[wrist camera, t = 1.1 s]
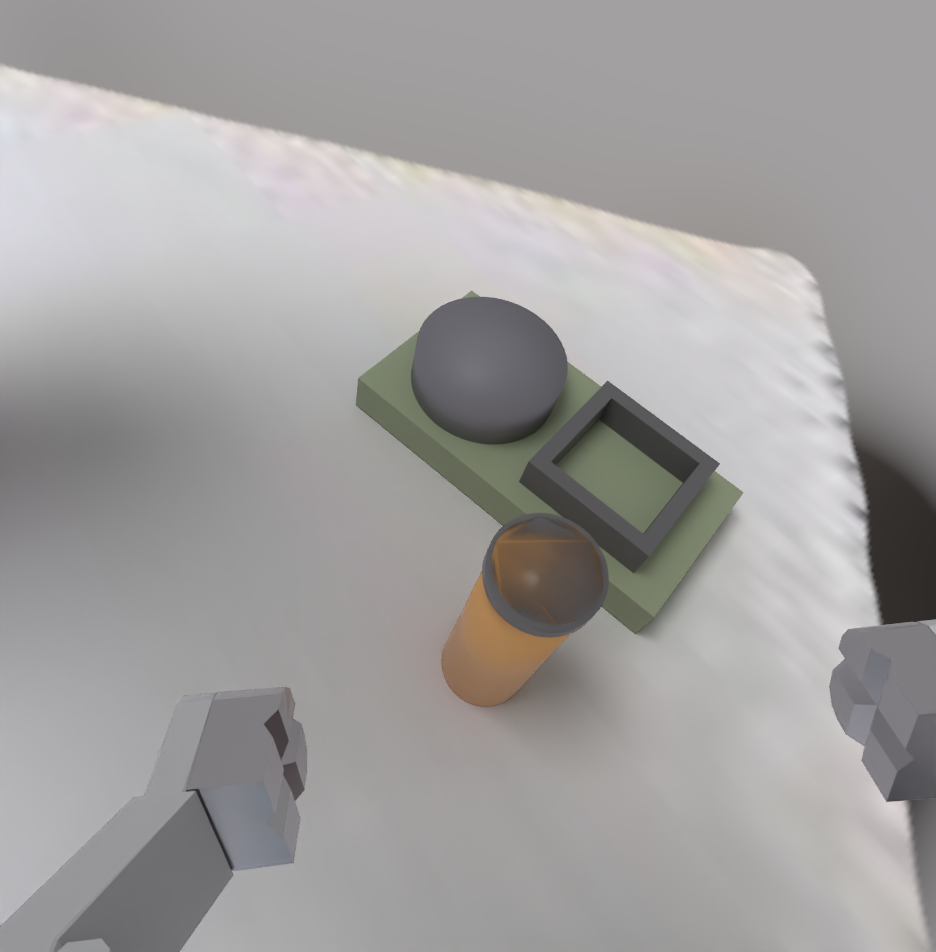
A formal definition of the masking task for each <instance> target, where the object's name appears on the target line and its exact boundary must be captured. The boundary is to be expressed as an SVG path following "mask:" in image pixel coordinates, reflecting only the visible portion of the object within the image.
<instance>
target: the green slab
mask: <svg viewBox="0 0 936 952" xmlns="http://www.w3.org/2000/svg"><path fill="white" fill-rule="evenodd" d="M356 405H357V406H358V407H359V408H360V409H362V410H363V411H364V412H365V413H366V414H368V415H369V416H370V417H371V418H373V419H374V420H375V421H376V422H377V423H379V424H380V425H381V426H382V427H383V428H385V429H386V430H387V431H388V432H390V433H391V434H392V435H393V436H394V437H396V438H397V439H398V440H399V441H401V442H402V443H403V444H404V445H405V446H407V447H408V448H409V449H410V450H412V451H413V452H414V453H415V454H416V455H418V456H419V457H420V458H421V459H423V460H424V461H425V462H426V463H427V464H429V465H430V466H431V467H432V468H434V469H435V470H436V471H437V472H438V473H440V474H441V475H442V476H443V477H445V478H446V479H447V480H448V481H449V482H451V483H452V484H453V485H454V486H456V487H457V488H458V489H459V490H460V491H462V492H463V493H464V494H465V495H467V496H468V497H469V498H470V499H471V500H473V501H474V502H475V503H476V504H477V505H479V506H480V507H481V508H482V509H484V510H485V511H486V512H487V513H488V514H490V515H491V516H492V517H493V518H495V519H496V520H497V521H498V522H499V523H501V524H502V525H503V526H504V525H505V524H506V523H508V522H509V521H511V520H513V519H515V518H517V517H519V516H522V515H526V514H531V513H548V514H554V515H558V516H561V517H564V518H566V519H568V520H571V521H572V522H574V523H576V524H577V525H579V526H580V527H582V528H583V529H584V530H585V531H586V532H588V533H589V534H590V536H591V537H592V538H593V539H594V540H595V541H596V543H597V544H598V546H599V547H600V549H601V551H602V553H603V555H604V557H605V560H606V563H607V567H608V573H609V585H608V591H607V595H606V598H605V600H604V602H603V604H602V607H603V608H604V609H606V610H607V611H608V612H609V613H611V614H612V615H613V616H614V617H615V618H617V619H618V620H619V621H620V622H622V623H623V624H624V625H625V626H626V627H628V628H629V629H630V630H631V631H633V632H634V633H635V634H636V633H637V632H638V631H639V630H640V629H642V628H643V627H644V626H645V625H646V624H647V623H649V622H650V621H651V620H652V619H653V618H654V617H655V616H656V614H657V613H658V612H659V610H660V609H661V607H662V606H663V605H664V603H665V602H666V600H667V599H668V598H669V596H670V595H671V593H672V592H673V591H674V589H675V588H676V586H677V585H678V584H679V582H680V581H681V579H682V578H683V577H684V575H685V574H686V572H687V571H688V570H689V568H690V567H691V565H692V564H693V563H694V561H695V560H696V558H697V557H698V556H699V554H700V553H701V551H702V550H703V549H704V547H705V546H706V544H707V543H708V542H709V540H710V539H711V537H712V536H713V535H714V533H715V532H716V530H717V529H718V528H719V526H720V525H721V523H722V522H723V520H724V519H725V518H726V516H727V515H728V513H729V512H730V511H731V509H732V508H733V506H734V505H735V504H736V502H737V501H738V499H739V498H740V497H741V495H742V494H743V492H742V491H741V490H739V489H738V488H737V487H735V486H734V485H733V484H731V483H730V482H729V481H727V480H726V479H725V478H723V477H722V476H721V475H719V474H718V473H717V472H715V470H716V468H717V467H718V466H719V464H720V463H718V462H717V461H716V460H714V459H713V458H711V457H710V456H709V455H707V454H706V453H705V452H703V451H702V450H701V449H699V448H698V447H697V446H695V445H694V444H692V443H691V442H690V441H688V440H687V439H686V438H684V437H683V436H682V435H680V434H679V433H678V432H676V431H675V430H674V429H672V428H671V427H669V426H668V425H667V424H665V423H664V422H663V421H661V420H660V419H659V418H657V417H656V416H655V415H653V414H652V413H651V412H649V411H648V410H646V409H645V408H644V407H642V406H641V405H640V404H638V403H637V402H636V401H634V400H633V399H632V398H630V397H629V396H628V395H626V394H625V393H623V392H622V391H621V390H619V389H618V388H617V387H615V386H614V385H613V384H611V383H610V382H609V381H607V382H606V383H605V384H604V385H603V386H602V387H601V386H599V385H598V384H597V383H595V382H594V381H593V380H591V379H590V378H589V377H587V376H586V375H585V374H583V373H582V372H581V371H579V370H578V369H577V368H575V367H574V366H572V365H571V364H570V363H568V362H567V357H566V354H565V350H564V348H563V346H562V343H561V341H560V340H559V338H558V336H557V335H556V334H555V332H554V331H553V330H552V329H551V327H550V326H549V325H548V324H547V323H546V322H545V321H543V320H542V319H541V318H540V317H538V316H537V315H536V314H534V313H532V312H531V311H529V310H527V309H526V308H524V307H522V306H519V305H517V304H515V303H512V302H509V301H505V300H502V299H497V298H490V297H480V296H478V295H477V294H476V293H474V292H473V291H471V292H469V293H468V294H467V295H465V296H464V297H463V298H462V299H458V300H455V301H452V302H449V303H447V304H445V305H443V306H441V307H440V308H438V309H436V310H435V311H434V312H433V313H432V314H431V315H429V317H428V318H427V319H426V320H425V321H424V323H423V325H422V327H421V328H420V331H419V332H418V333H416V334H415V335H414V336H412V337H411V338H410V339H409V340H407V341H406V342H405V343H403V344H402V345H401V346H399V347H398V348H397V349H396V350H394V351H393V352H392V353H390V354H389V355H388V356H387V357H385V358H384V359H383V360H381V361H380V362H379V363H377V364H376V365H375V366H374V367H372V368H371V369H370V370H368V371H367V372H366V373H365V374H363V375H362V376H361V377H359V378H358V388H357V399H356Z"/></svg>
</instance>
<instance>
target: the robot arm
mask: <svg viewBox="0 0 936 952" xmlns="http://www.w3.org/2000/svg"><path fill="white" fill-rule="evenodd" d="M839 650H840V652H841V653H842V655H843V656H844V658H845V659H844V660H843V661H842V662H841V663H840V664H839V665H838V666H837V667H836V668H835V669H833V671H832V676H831V681H830V686H829V687H830V695H831V703H832V707H833V709H834V712H835V715H836V717H837V720H838V722H839V723H840V725H841V727H842V729H843V730H844V732H845V734H846V735H848V736H849V737H851V738H852V739H854V740H856V741H857V742H859V743H860V744H862V745H863V746H864V751H863V756H862V762H863V764H864V765H865V767H866V769H867V770H868V772H869V774H870V775H871V777H872V779H873V780H874V782H875V784H876V785H877V787H878V789H879V790H880V792H881V794H882V795H883V797H884V798H885V800H886V802H890V801H904V800H916V799H930V798H936V620H927V621H918V622H907V623H898V624H889V625H880V626H871V627H862V628H854V629H848V630H847V631H846V632H845V633H844V634H843V635H842V638H841V641H840V645H839ZM294 708H295V702H294V699H293V696H292V693H291V690H290V688H287V687H280V688H267V689H254V690H241V691H228V692H218V693H209V694H196V695H184V696H183V697H182V699H181V700H180V701H179V702H178V704H177V705H176V707H175V710H174V713H173V716H172V719H171V721H170V724H169V727H168V730H167V733H166V736H165V738H164V741H163V744H162V747H161V750H160V753H159V755H158V758H157V761H156V764H155V767H154V770H153V772H152V775H151V778H150V781H149V784H148V787H147V789H146V792H145V795H144V796H139V797H133V798H132V799H131V800H130V801H129V802H128V803H127V804H126V805H125V806H124V807H123V808H122V809H121V810H120V811H119V812H118V813H117V814H116V815H115V816H114V817H113V818H112V819H111V820H110V821H109V822H108V823H107V824H106V825H104V826H103V827H102V828H101V829H100V830H99V831H98V832H97V833H96V834H95V835H94V836H93V837H92V838H91V839H90V840H89V841H88V842H87V843H86V844H85V845H84V846H83V847H82V848H81V849H80V850H79V851H78V852H77V853H76V854H75V855H74V856H73V857H72V858H70V859H69V860H68V861H67V862H66V863H65V864H64V865H63V866H62V867H61V868H60V869H59V870H58V871H57V872H56V873H55V874H54V875H53V876H52V877H51V878H50V879H49V880H48V881H47V882H46V883H45V884H44V885H43V886H42V887H41V888H40V889H39V890H38V891H36V892H35V893H34V894H33V895H32V896H31V897H30V898H29V899H28V900H27V901H26V902H25V903H24V904H23V905H22V906H21V907H20V908H19V909H18V910H17V911H16V912H15V913H14V914H13V915H12V916H11V917H10V918H9V919H8V920H7V921H6V922H5V923H4V924H2V925H1V926H0V952H179V951H180V950H181V949H182V947H183V946H184V944H185V943H186V941H187V940H188V939H189V937H190V936H191V934H192V933H193V932H194V930H195V929H196V927H197V926H198V924H199V923H200V922H201V920H202V919H203V917H204V916H205V914H206V913H207V912H208V910H209V909H210V907H211V906H212V904H213V903H214V902H215V900H216V899H217V897H218V896H219V894H220V893H221V892H222V890H223V889H224V887H225V886H226V885H227V883H228V882H229V880H230V879H231V877H232V876H233V873H232V871H237V870H245V869H252V868H260V867H267V866H275V865H283V864H290V863H294V857H295V850H296V843H297V837H298V830H299V824H300V816H299V813H298V810H297V807H296V804H295V800H296V799H297V798H298V797H299V796H300V794H301V793H302V792H303V791H304V789H305V782H306V774H307V748H306V741H305V735H304V731H303V728H302V724H300V723H299V722H297V721H296V720H294V719H293V714H294Z"/></svg>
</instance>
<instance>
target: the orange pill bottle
mask: <svg viewBox="0 0 936 952" xmlns="http://www.w3.org/2000/svg"><path fill="white" fill-rule="evenodd" d="M608 585H609V573H608V567H607V563H606V560H605V557H604V555H603V553H602V551H601V549H600V547H599V546H598V544H597V543H596V541H595V540H594V539H593V538H592V537H591V536H590V534H589V533H588V532H586V531H585V530H584V529H583V528H582V527H580V526H579V525H577V524H576V523H574V522H572V521H571V520H568V519H566V518H564V517H561V516H558V515H554V514H548V513H531V514H526V515H522V516H519V517H517V518H515V519H513V520H511V521H509V522H508V523H506V524H505V525H504V526H503V527H502V528H501V529H500V530H499V531H498V532H497V533H496V535H495V536H494V538H493V540H492V542H491V544H490V546H489V548H488V550H487V552H486V555H485V557H484V561H483V567H482V572H481V574H480V576H479V578H478V580H477V582H476V584H475V586H474V588H473V590H472V592H471V594H470V596H469V598H468V600H467V602H466V604H465V606H464V608H463V610H462V612H461V614H460V616H459V618H458V620H457V622H456V624H455V626H454V628H453V630H452V632H451V634H450V636H449V638H448V640H447V642H446V644H445V647H444V650H443V654H442V670H443V674H444V677H445V679H446V682H447V683H448V685H449V687H450V688H451V689H452V691H453V692H454V693H455V694H456V695H457V696H459V697H460V698H461V699H463V700H464V701H466V702H468V703H471V704H473V705H477V706H495V705H498V704H501V703H503V702H505V701H507V700H508V699H510V698H511V697H512V696H513V695H514V694H515V693H516V692H517V691H518V690H519V689H520V688H521V687H522V685H523V684H524V683H525V682H526V681H527V680H528V679H529V678H530V677H531V676H532V675H533V674H534V672H535V671H536V670H537V669H538V668H539V667H540V666H541V665H542V664H543V663H544V662H545V661H546V659H547V658H548V657H549V656H550V655H551V654H552V653H553V652H554V651H555V650H556V649H557V647H558V646H559V645H560V644H561V643H562V642H563V641H564V640H565V639H566V638H567V637H568V636H569V634H570V633H573V632H575V631H576V630H578V629H580V628H581V627H582V626H584V625H585V624H586V623H587V622H588V621H589V620H590V619H591V618H592V617H593V616H594V615H595V614H596V612H597V611H598V610H599V609H600V607H601V606H602V604H603V602H604V600H605V598H606V595H607V591H608Z"/></svg>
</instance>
